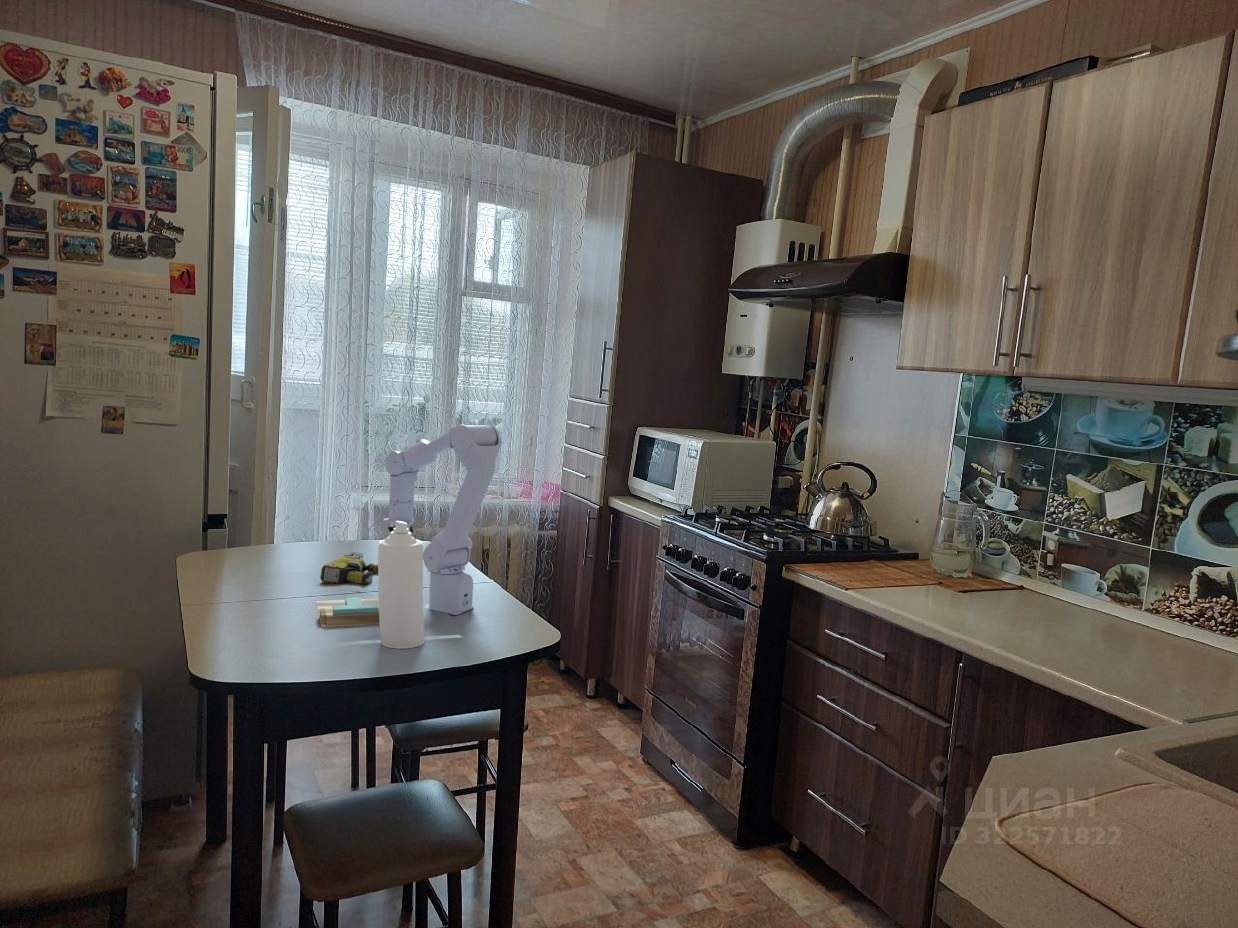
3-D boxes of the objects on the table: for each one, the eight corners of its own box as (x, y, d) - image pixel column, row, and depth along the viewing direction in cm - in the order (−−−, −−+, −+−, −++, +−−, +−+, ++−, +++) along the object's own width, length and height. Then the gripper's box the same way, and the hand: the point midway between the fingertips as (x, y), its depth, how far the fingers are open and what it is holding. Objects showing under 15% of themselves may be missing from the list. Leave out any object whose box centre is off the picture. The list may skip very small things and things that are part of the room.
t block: (378, 621, 174) (378, 607, 174) (333, 623, 170) (333, 609, 170) (373, 609, 182) (373, 596, 182) (330, 611, 178) (330, 598, 178)
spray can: (436, 649, 160) (441, 524, 158) (382, 656, 154) (387, 526, 152) (416, 632, 170) (421, 514, 167) (365, 638, 164) (369, 515, 161)
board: (315, 603, 186) (316, 592, 186) (379, 600, 192) (379, 589, 191) (321, 629, 168) (321, 617, 168) (391, 625, 173) (391, 613, 173)
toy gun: (404, 557, 226) (350, 549, 226) (380, 573, 202) (320, 564, 202) (401, 574, 227) (348, 566, 226) (377, 592, 202) (317, 583, 202)
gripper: (380, 496, 201) (378, 550, 202) (388, 505, 188) (386, 563, 189) (409, 496, 204) (407, 549, 205) (419, 505, 190) (417, 562, 192)
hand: (399, 556), depth 197 cm, fingers closed
